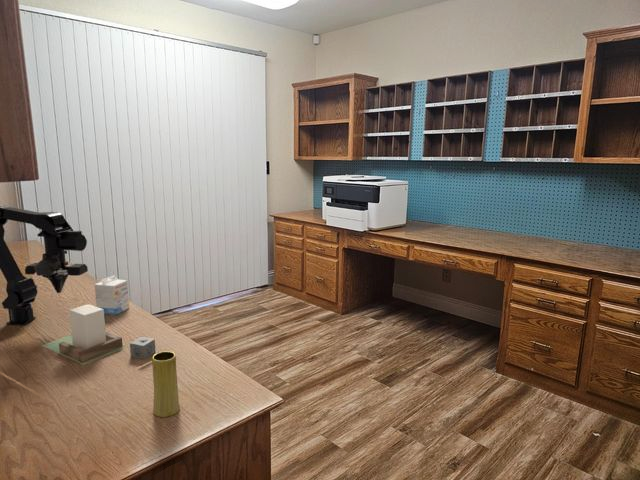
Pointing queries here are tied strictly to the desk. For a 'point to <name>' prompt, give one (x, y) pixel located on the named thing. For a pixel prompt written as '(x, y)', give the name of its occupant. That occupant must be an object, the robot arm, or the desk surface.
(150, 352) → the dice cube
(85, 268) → the robot arm
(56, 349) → the putting strip
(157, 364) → the vase
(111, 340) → the wooden tray
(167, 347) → the desk surface
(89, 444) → the desk surface
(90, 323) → the cream block
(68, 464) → the desk surface
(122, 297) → the ink box
